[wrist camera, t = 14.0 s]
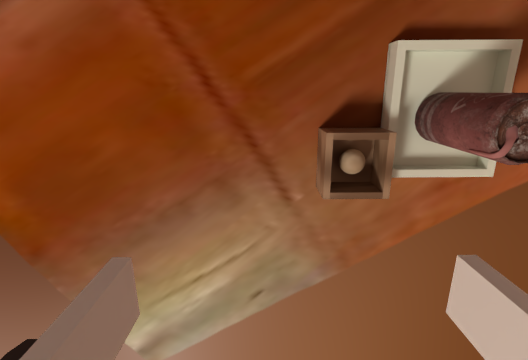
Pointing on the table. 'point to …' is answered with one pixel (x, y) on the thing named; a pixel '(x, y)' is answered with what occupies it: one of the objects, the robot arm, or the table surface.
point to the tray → (434, 81)
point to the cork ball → (352, 161)
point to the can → (477, 124)
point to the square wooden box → (370, 177)
